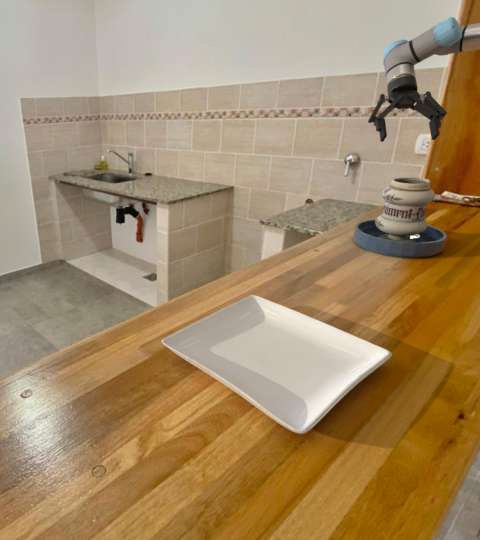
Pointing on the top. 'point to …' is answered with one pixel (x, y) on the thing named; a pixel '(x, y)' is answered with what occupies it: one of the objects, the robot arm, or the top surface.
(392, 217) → the apothecary jar
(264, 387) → the square plate
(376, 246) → the bowl
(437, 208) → the top surface
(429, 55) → the robot arm
